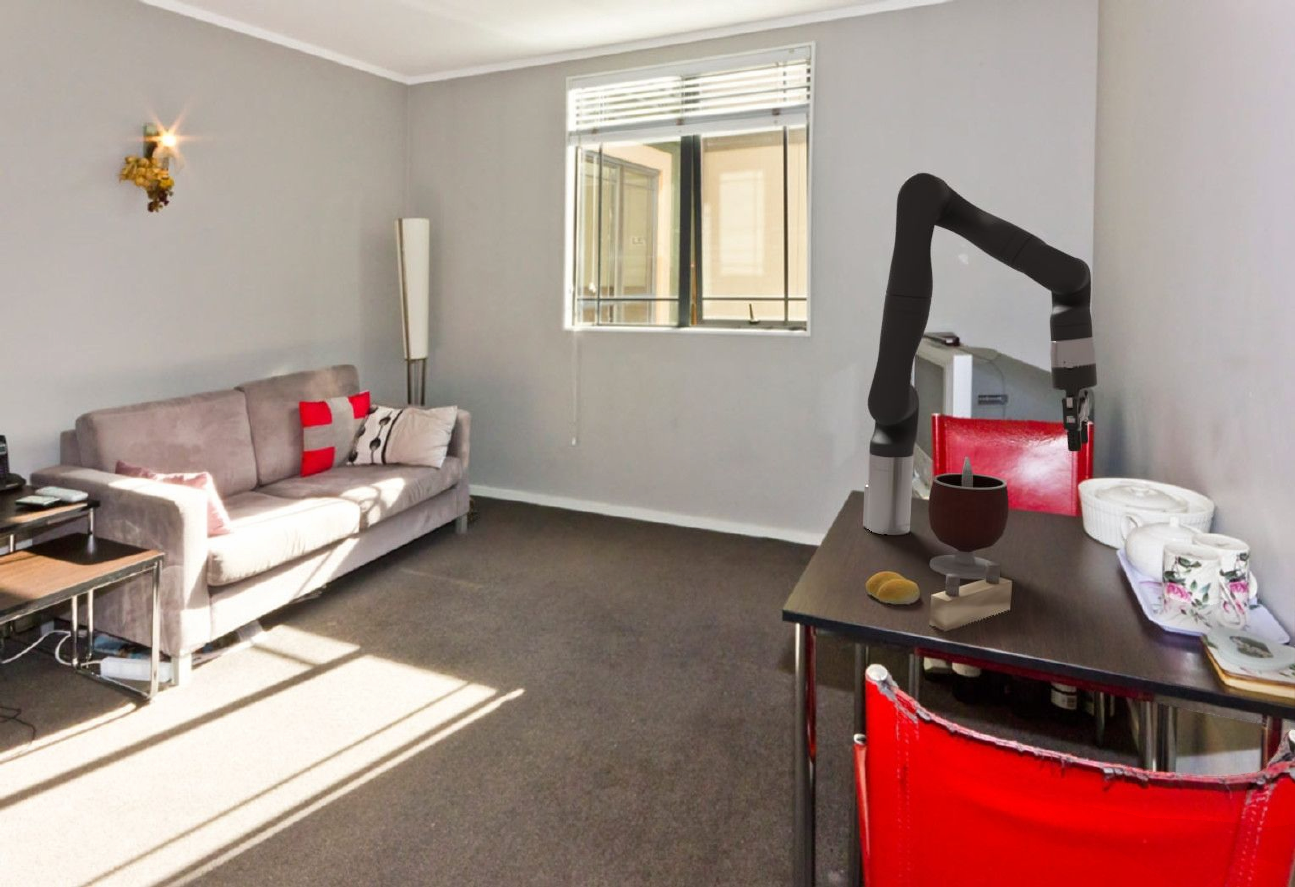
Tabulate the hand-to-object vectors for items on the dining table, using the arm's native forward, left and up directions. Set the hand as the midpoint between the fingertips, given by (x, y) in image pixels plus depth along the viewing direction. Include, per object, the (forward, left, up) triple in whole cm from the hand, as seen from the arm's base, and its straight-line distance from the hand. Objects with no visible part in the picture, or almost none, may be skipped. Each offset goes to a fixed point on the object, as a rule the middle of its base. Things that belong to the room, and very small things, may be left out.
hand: (1078, 447), depth 152 cm
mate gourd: (-8, -22, -22) cm, 32 cm away
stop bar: (+9, -42, -22) cm, 48 cm away
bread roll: (-5, -45, -23) cm, 50 cm away
